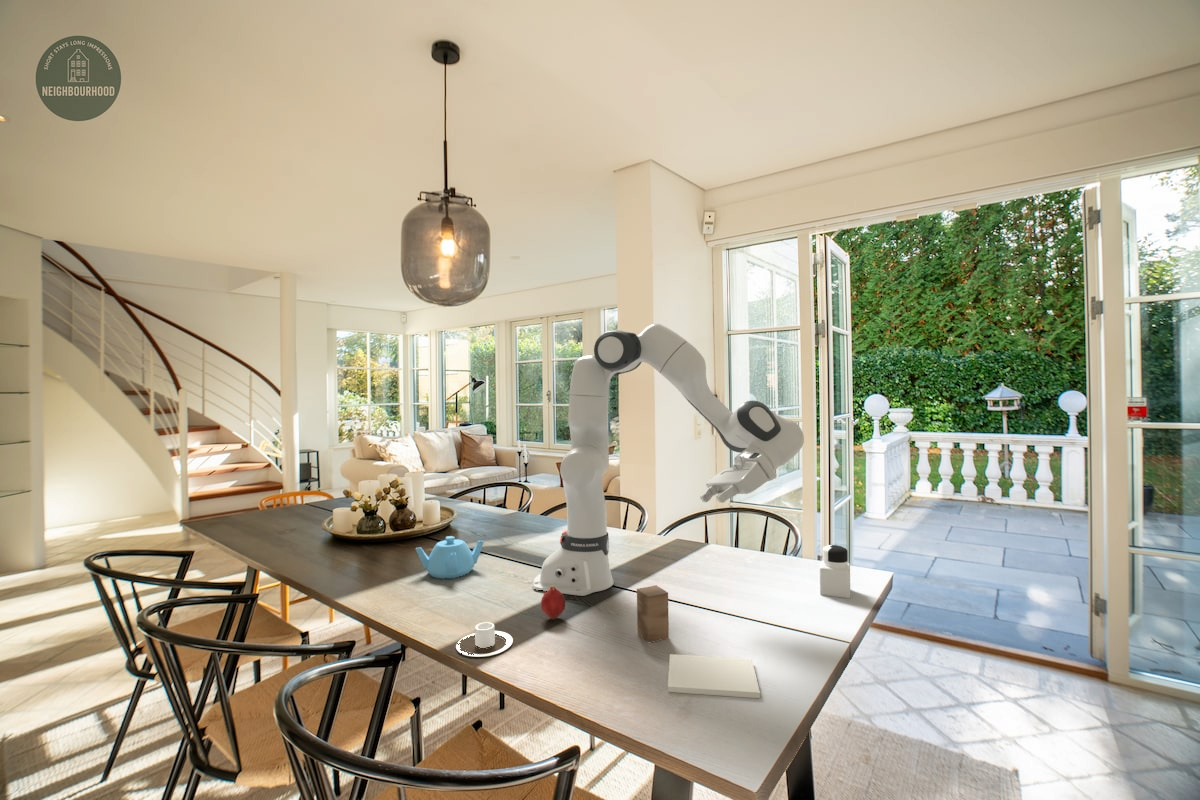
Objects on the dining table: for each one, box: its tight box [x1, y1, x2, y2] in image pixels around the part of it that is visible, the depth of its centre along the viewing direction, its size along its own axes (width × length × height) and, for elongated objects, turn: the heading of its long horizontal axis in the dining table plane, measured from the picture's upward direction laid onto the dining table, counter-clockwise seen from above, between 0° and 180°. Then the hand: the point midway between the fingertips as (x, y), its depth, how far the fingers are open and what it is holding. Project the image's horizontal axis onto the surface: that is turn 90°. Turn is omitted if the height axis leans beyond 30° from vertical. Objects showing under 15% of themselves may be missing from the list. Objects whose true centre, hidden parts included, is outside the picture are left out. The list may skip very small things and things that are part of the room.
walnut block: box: [636, 584, 670, 643], centre depth 120 cm, size 5×5×10 cm
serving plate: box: [667, 653, 761, 699], centre depth 102 cm, size 16×12×1 cm
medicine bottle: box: [819, 544, 851, 599], centre depth 143 cm, size 7×7×12 cm
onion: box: [540, 586, 566, 620], centre depth 130 cm, size 6×6×8 cm
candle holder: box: [455, 621, 514, 658], centre depth 117 cm, size 12×12×4 cm
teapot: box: [415, 535, 485, 579], centre depth 165 cm, size 15×15×11 cm
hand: (710, 500), depth 131 cm, fingers open, 8 cm apart
